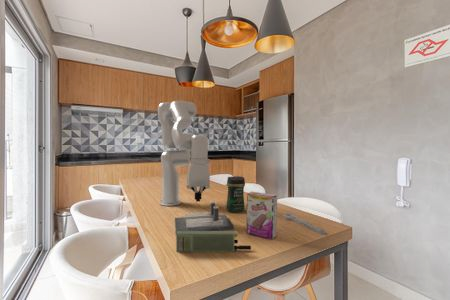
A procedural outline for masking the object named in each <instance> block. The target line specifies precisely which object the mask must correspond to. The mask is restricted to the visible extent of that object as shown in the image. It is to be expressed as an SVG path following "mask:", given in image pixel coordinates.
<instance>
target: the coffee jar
mask: <svg viewBox="0 0 450 300" xmlns="http://www.w3.org/2000/svg"><path fill="white" fill-rule="evenodd" d="M226 185H227V198H226V199H227V200H226V205H225V206H226V211H227V212H229V213H240V212H242V213H243V212H244V211H245V198H244V196H245V195H244V191H245V185H246V179H245V177H243V176H241V175H240V176H239V175H237V176H228V177H227V181H226Z"/></svg>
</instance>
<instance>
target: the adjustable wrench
mask: <svg viewBox="0 0 450 300" xmlns="http://www.w3.org/2000/svg"><path fill="white" fill-rule="evenodd" d="M282 215H283V219H285V221H293V222H295V223H297V224H299V225H301V226H304V227H306V228H308V229H310V230H311V231H314V232H315V233H317V234H320V235H322V236H323V235H324V236H325V235H327V230H325V229H323V228H320V227H319V226H317V225H314V224H312V223H309V222H308V221H306V220H303V219H302V218H301V219H300V218H298V216H297V215H296V214H294V213H291V212H287V213H286V214H282Z"/></svg>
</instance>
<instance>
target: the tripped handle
mask: <svg viewBox="0 0 450 300" xmlns="http://www.w3.org/2000/svg"><path fill="white" fill-rule="evenodd" d="M214 206H216V201H215V200H214V201H210V211H209V212H210V215H213V214H214Z"/></svg>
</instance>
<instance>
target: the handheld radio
mask: <svg viewBox="0 0 450 300" xmlns="http://www.w3.org/2000/svg"><path fill="white" fill-rule="evenodd" d="M175 236H176V237H175V238H176V243H175V245H176V250H175V251H176V252H177V253H234V252H235V250H240V251H241V250H243V251H244V250H249V251H251V250H252V246H251V245H243V244H242V245H241V244H239V245H235V244H238V243H239V240H238V239H235V238H238V231H237V230H218V231H177V233H176V232H175Z"/></svg>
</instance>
